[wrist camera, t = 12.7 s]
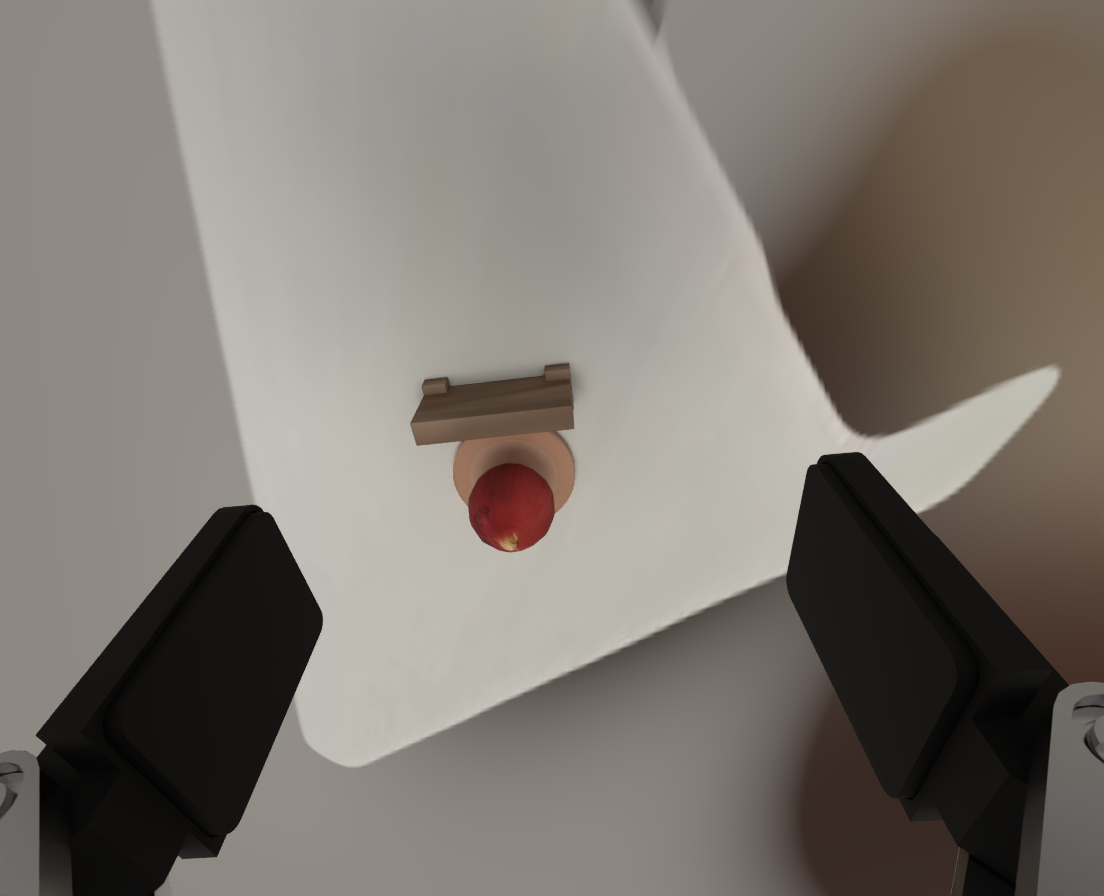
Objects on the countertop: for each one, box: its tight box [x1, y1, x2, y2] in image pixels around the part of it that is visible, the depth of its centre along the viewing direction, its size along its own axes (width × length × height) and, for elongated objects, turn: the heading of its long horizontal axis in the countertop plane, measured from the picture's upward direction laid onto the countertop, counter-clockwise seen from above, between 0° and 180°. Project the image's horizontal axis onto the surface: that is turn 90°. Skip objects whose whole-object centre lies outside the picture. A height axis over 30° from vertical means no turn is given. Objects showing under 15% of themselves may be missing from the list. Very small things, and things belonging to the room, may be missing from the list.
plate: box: [453, 431, 575, 513], centre depth 40 cm, size 9×9×1 cm
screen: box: [410, 363, 574, 446], centre depth 35 cm, size 3×10×5 cm, turn 97°
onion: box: [468, 463, 555, 552], centre depth 36 cm, size 6×6×8 cm
